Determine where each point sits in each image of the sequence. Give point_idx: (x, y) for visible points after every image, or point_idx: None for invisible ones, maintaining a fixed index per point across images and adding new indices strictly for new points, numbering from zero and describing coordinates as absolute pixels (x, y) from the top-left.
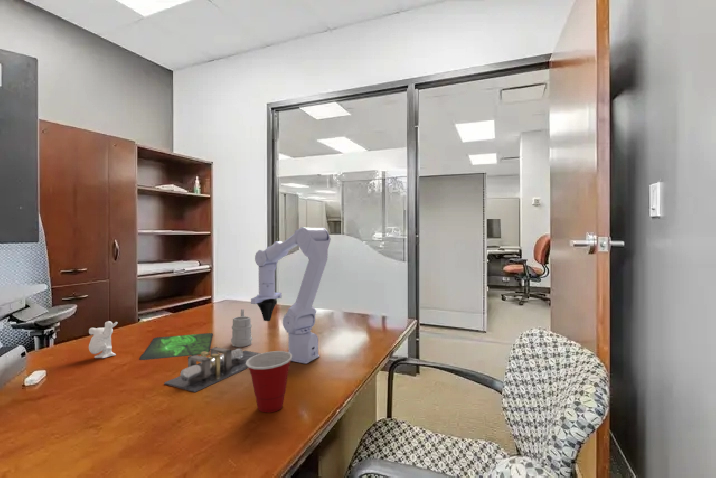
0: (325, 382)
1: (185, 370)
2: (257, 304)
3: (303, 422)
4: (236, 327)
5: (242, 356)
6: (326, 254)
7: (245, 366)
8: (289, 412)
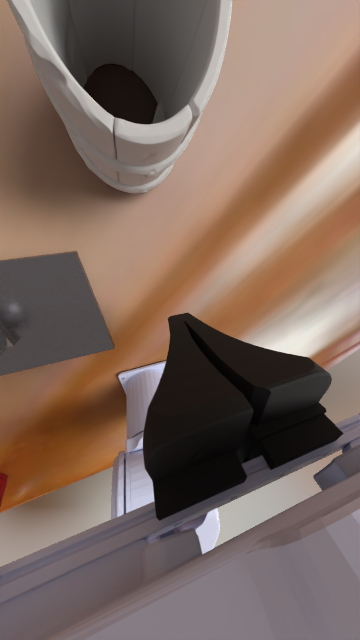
0: (101, 451)
1: None
2: (148, 409)
3: (11, 499)
4: (41, 79)
5: (4, 347)
6: None
7: (6, 370)
8: (7, 488)
